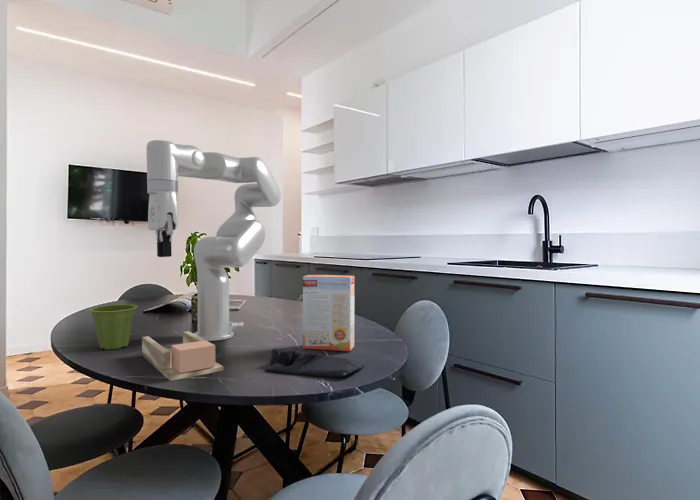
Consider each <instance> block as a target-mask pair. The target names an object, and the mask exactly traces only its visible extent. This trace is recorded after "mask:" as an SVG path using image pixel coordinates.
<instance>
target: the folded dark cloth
mask: <svg viewBox="0 0 700 500" xmlns="http://www.w3.org/2000/svg"><path fill="white" fill-rule="evenodd" d="M364 367H365V364H364V362H363V361H360V360H357V359H352V358H344V357H339V356H332V355H325V354H319V353H318V354H317V353H312V352H307V351H306V352H305V351H297V350H290V349H285V348H278V347H277V348H273V349H272V351H271V358H270V362H269V366H268V367H267V368H265V369H264V370H265V371H266V372H270V373H273V372H275V373H280V374H287V375H290V374H291V375H297V376H298V375H305V376H314V377H324V378H325V377H326V378H343V377H346V376H347V375H350V374H352V373H354V372H356V371H359V370H361V369H363V368H364Z"/></svg>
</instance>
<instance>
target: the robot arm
mask: <svg viewBox="0 0 700 500" xmlns="http://www.w3.org/2000/svg"><path fill="white" fill-rule="evenodd" d="M145 150H146V179H147V180H146V185H147V186H146V187H147V194H149V197H148V208H147V209H148V211H147V215H148V216H147V228H148V230H150V231H155V235H156V236H155V237H156V251H157V252H156V255H157V257H159V258H166V257H167V258H169V257H170V258H171V257H172V239H173V238H172V236H173V234H174V231H175V230H176V229H177V228H178V205H177V203H178V202H177V195H179V177H183V178H193V179H202V180H214V181H220V182H227V183H232V184H233V183H234V184H241V185H240V186H238V187H237V189H236V190H235V192H234V212H233V213H232V215H230V217H228V218H227V219H226V220H225V221H224V222H223V223H222V224H221V225H220V226H219V228H218V229H217V231H216V235H215V236H205V237H203V238H200V239H199V240H198V241H196V244H195V245H194V249H193V256H194V261H195V267H196V274H197V276H196V277H197V278H196V279H197V331H195V332H193V334H195V335H197V336H199V337H201V338H202V339H204V340H206V341H208V342H218V341H222V340H223V341H224V340H228V339H231V338H233V337H234V336H235V331H234V330H236V329H243V328H244V327H245V323H244V322H243V321H240V322H236V321H234V322H233V321H231V320H230V278H229V276H228V273H227V272H226V269H225V268H228V269H229V268H233V269H234V268H235V269H237V268H242V267H244V266H245V265H247V264H248V262H250V260H252V258H253V257H254V256H255V255H256V253H257V252H258V251H259V250H260V248H261V247H262V246H263V244H264V242H265V238H266V229H265V226H264V225H263V223H262V222H261V221H259V220H257V215H256V214H255V213H254V211H253V208H269V207H275V206H277V205H278V204H279V202H280V200H281V191H280V187H279V184H278V183H277V181H276V180H275V178H274V176H273V174H272V172H271V171H270V168H269V167H268V166H267V164H266V162H264V160H263V159H261V158H260V157H258V156H249V157H236V156H232V155H229V154H224V153H220V152H215V151H214V152H212V151H211V152H208V151H205V152H203V151H202V149H199V148H198V147H197V146H194V145H189V144H178V143H174V142H172V141H171V140H170V141H169V140H162V139H154V140H150V141H148V142H147V144H146V149H145Z"/></svg>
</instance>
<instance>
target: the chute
mask: <svg viewBox="0 0 700 500" xmlns="http://www.w3.org/2000/svg"><path fill="white" fill-rule="evenodd" d="M193 333H194V332H193ZM193 333H192V332H191V331H189V330H187V331H182V344H184V343H191V342H198V341H205V340H204V339H202V338H201V337H199V336H197V335H195V334H193ZM141 357H143V358H144V359H145V360H146V361H147V362H148V363H150V364H151V365H152V366H153V367H154V368H155V369H156V370H157V371H158V372H159V373H161V374H162V375H163V376H164V377H165V378H166V379H168V381H170V382H172V381H177V380H182V379H187V378H192V377H193V378H194V377H198V376H202V375H207V374H212V373H213V374H214V373H219V372H223V371H224V366H223V365H222V364H220V363H219V362H216V361H215V367H211V368H205V369H200V370H195V371H189V372H184V373H179V372H177V371H176V370H175V369H174V368H172V367H171V347H167V348H166V347H164V346H163V345H161V344H159V343H158V342H157V341H155V340H154V339H152V338H151V337H150V336H141Z"/></svg>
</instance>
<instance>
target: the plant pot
mask: <svg viewBox="0 0 700 500" xmlns="http://www.w3.org/2000/svg"><path fill="white" fill-rule="evenodd" d="M137 308H138V305H135V304H127V303H126V304H123V303H122V304H120V303H119V304H106V305H100V306H95V307H91V308H89V312H91V316H92V319H93V322H94V325H95V330H96V335H97V341H98V345H99V348H100V349H101V350H103V349H104V350H108V351H109V350H111V351H112V350H118V349H122V347H128V346H129V343H130V338H131V332H132V331H131V330H132V325H133V319H134V316H135V312H136V310H137Z"/></svg>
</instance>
